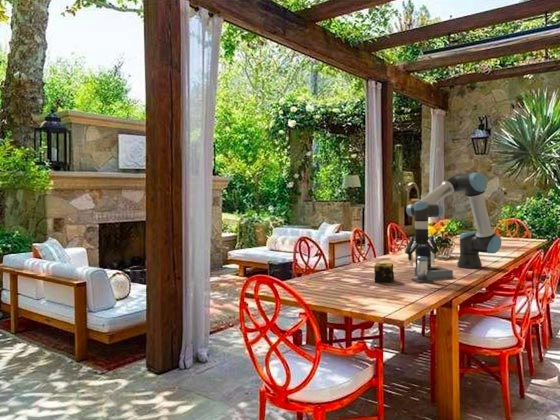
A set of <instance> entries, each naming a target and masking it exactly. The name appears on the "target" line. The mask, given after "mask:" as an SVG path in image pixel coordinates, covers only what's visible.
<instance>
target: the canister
mask: <svg viewBox="0 0 560 420" xmlns="http://www.w3.org/2000/svg"><path fill="white" fill-rule="evenodd" d="M431 253H432V252H431V250H430V249H429V248H428V247H427V246H426V245H423V244H422V245H418V246H417V248H416V249H415V250H414V254H415V268H417V257H418V256H426V257H427V267H432V264H431Z"/></svg>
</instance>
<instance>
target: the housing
mask: <svg viewBox="0 0 560 420" xmlns="http://www.w3.org/2000/svg"><path fill="white" fill-rule="evenodd" d="M427 271H428V279H432V280H442V279H443V280H444V278H446V279H453V278H454V275H453V274H454V271H453V269H449V268H446V267H441V266H439V265H438V266H431V267H427ZM414 276H415V277H417V268H416V267H414Z"/></svg>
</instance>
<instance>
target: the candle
mask: <svg viewBox="0 0 560 420" xmlns="http://www.w3.org/2000/svg"><path fill="white" fill-rule="evenodd" d="M373 268H374V283H377V284H378V283H381V284H393V282H394V280H395V276H394V275H395V272H394V263H393V262H392V263H391V262H390V263H389V262H388V263H387V262H378V263H377V262H376V263H375V264H374V266H373Z"/></svg>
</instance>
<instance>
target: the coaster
mask: <svg viewBox="0 0 560 420" xmlns="http://www.w3.org/2000/svg"><path fill="white" fill-rule="evenodd" d="M434 280H435V279H433V280H432V279H428V280H418V279H417V277H415V278H413V277H412V278H411V281H412V282H415V283H418V284H427V283H434V282H435V281H434Z"/></svg>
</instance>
